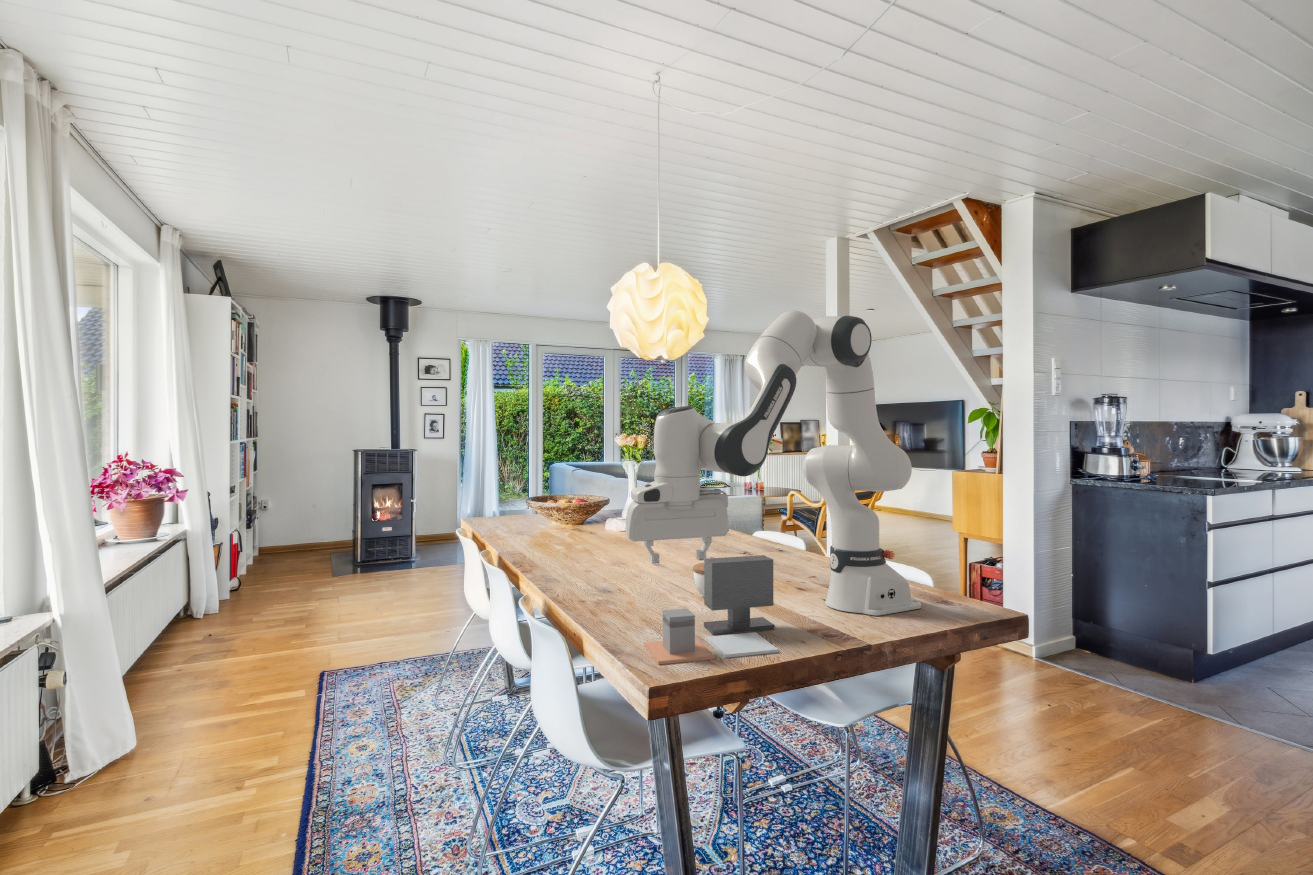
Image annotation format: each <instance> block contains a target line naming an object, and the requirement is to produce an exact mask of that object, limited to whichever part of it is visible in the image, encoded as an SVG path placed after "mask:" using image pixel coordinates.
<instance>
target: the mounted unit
mask: <svg viewBox="0 0 1313 875" xmlns="http://www.w3.org/2000/svg"><path fill="white" fill-rule="evenodd" d="M703 563H704V597H703V598H704V602H703V604H704V605H705V606H706V607H707V608H708V609H709V610H711V611H713V612H715V611H722V610H723V611H724V610H726V611H727V620H726V619H724V620H713V621H704V622H703V628H704V629H706V630H707V631H708V632H709V633H710V634H712V636H720V635H731V634H742V633H753V632H759V631H773V630H774V631H775V624H774V623H773V622H771V621H770V620H768V619H767V618H765V617H763V616H760V617H751V608H763V607H773V606H774V559H773V558H771V557H768V556H766V555H762V554H761V555H745V556H729V557H712V558H709V557H707V558H706V560H703Z"/></svg>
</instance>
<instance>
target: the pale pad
mask: <svg viewBox="0 0 1313 875" xmlns="http://www.w3.org/2000/svg"><path fill="white" fill-rule="evenodd" d="M705 641H706V642H707V643H709V645H710V646H712V647H713V649H715V650H716V651H717V652H718V653H719V654H720V655H721V656H722V657H723V658H724V659H728V658H738V657H745V656H757V655H766V654H774V653H775V654H778V653H779V648H777V647H776V646H775V645H773V644H771V643H770V642H769V641H768V640H766V639H765V638H764V637H762V636H761V635H760V634H758V633H757V631H753V632H742V633H731V634H720V635H712V636H710V635H709V636H705Z"/></svg>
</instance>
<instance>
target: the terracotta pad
mask: <svg viewBox="0 0 1313 875" xmlns="http://www.w3.org/2000/svg"><path fill="white" fill-rule="evenodd" d="M643 645H644V647H645V648H646V650H647V651H648V652H649V654H650V655H651V657H652V658H653V659H654V661H655V663H656V664H657V665H666V664H667V665H669V664H675V663H676V664H678V663H688V662H697V661H706V660H707V661H708V660H715V659H716V656H715V654H714V653H713V652H712V651H711V650H710V649H709V648H707V646H706V645H704V644H703V643H702V641H700V640H699V639H698V638H697V637H695V652H688V653H678V654H669V653H668V651H667V650H666V649H665V648H664V647H663V640H658V641H656V640H655V641H646V642H644V643H643Z"/></svg>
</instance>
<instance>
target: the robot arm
mask: <svg viewBox="0 0 1313 875" xmlns="http://www.w3.org/2000/svg"><path fill="white" fill-rule="evenodd" d="M871 345H872V332H871V329H870V327H869V325H868V324H867V322H865V319H862V318H861V317H858V316H853V315H843V316H838V315H837V316H836V315H835V316H832V315H830V316H827V315H826V316H818V317H815V318H811V317H810V316H809V315H808V314H806V313H805V312H803V311H800V310H793V309H792V310H787V311H785V312H783V313H781V314H780V315H779V316H778V317H776V319H774V320H773V321H772V322H771V323H770V324H769V325H768V326H767V327H766V328H765V330H764V331H763V332H762V333H761V334H760V335H759V337H758V339H756V341H755V342H754V344H753V345H752V346H751V348H750V350H749V351H748V353H747V355H746V358H745V360H744V370H745V374H746V377H747V378H748V381H750V383H751V384H752V385H753V386H754V387H755V388H756V389H757V390H758V391H759V393H758V394H757V396H756V398H755V399H754V402H753V403H752V406H751V407H750V409H749V411H748V413H747V414H746V416H745V417H743V418H742V419H740V420H738V421H735V422H731V423H730V422H729V423H728V422H724V423H720V422H715V421H713V420H710V419H709V418H706V417H705V416H704V415H702V414H701V413H699V412H698V411H697V410H696V407H694V406H691V405H682V406H681V405H680V406H676V407H669V408H666V409H663V410H662V411H660V412H659V413H658V414H657V415H656V417H655V418H656V419H655V423H654V430H653V456H654V458H655V469H654V474H653V481H650V482H649V483H645V484H644V485H643V484H642V485H641V486H636V487H634V488H633V489H632V490H631V491H630V498H631V500H633V501H631V502H630V503H629V505H628V507H627V512H626V517H625V536H626V538H627V539H628V540H629V541H631V542H632V543H635V542H643V546H644V547H645V549H646V550H647V553H649V561H650V565H651V564H652V565H655V564H660V553H658V552H655V551H654V549H653V548H652V547H654V541H664V540H680V539H681V540H682V539H696V538H697V539H698V538H701V541H702V545H701V547H700V549H696V550H695V551H696V560H697V561H704V560H706V559H707V552H708V550H709V547H711V544H712V538H714V537H725V536H727V535H728V533H729V532H730V524H729V516H728V509H727V508H728V506H729V496H728V494H727V493H726V492H725V491H724V490H722V489H721V488H712V489H710V488H701V476H700V474H701V473H700V470H704V471H709V472H710V471H711V472H716V473H726V474H730V475H733V476H738V477H748V476H752V475H754V474H756V472H758V471H759V470H760V469H761V467H762V466H763V464H764V463H765V461H766V459H767V456H768V452H769V449H770V445H771V442H772V438H773V436H774V433H775V431H776V430H777V427H779V426H778V425H779V423H780V421H781V420H782V418H783V416H784V414H785V412H786V410H787V408H788V406H789V404H790V403H791V400H792V397H793V395H794V393H795V390H796V387H797V374H798V372H799V371H800V370H801V368H802V367H803V366H808V367H821V368H822V367H824V369H825V394H826V395H825V396H826V405H827V406H826V407H827V408H826V409H827V419H828V421H829V424H830V425H831V426H832V427H833V428H834V429H835V430H837V431H838V432H841V433H843V434H844V435H846V436H847V437H848V438H849V439H850V440H851V441H852V444H853V445H847V444H845V445H842V444H839V445H837V444H829V445H828V444H827V445H822V446H818V447H814V448H810V449H809V451H807V453H806V455H805V457H804V458H803V461H802V472H803V475H804V477H805V479H806V481H807V483H808V484H809V485H810V486H811V487H813V488H814V489H816V491H817V492H818V493H819V494H820V496H822V498H823V501H824V503H825V504H826V506H827V509H828V512H829V514H830V515H829V516H830V524H831V525H830V527H831V545H830V547H829V549H830V550H829V566H830V578H829V584H828V590H827V595H826V598H825V602H824V604H825V605H826V606H827V607H829V608H831V609H834V610H837V611H841V612H847V613H848V612H849V613H854V614H855V613H856V614H857V613H858V614H865V615H869V616H875V617H876V616H883V615H884V616H885V615H890V614H894V613H901V612H908V611H913V610H918V609H922V603H921V602H920V601H919V600H918V599H916V598H914V597H912V595H911V594H912V592H911V588H910V584H909V582H908V580H907V579H906V578H905V577H904V576H903V575H901V574H900V573H899V572H897V571H896V570H895V569H893V567H891V566H890V565H889V564H888V563H887V561H886V560H887V559H888V560H894V558H895V552H894V551H893V550H889V549H885V550H884V549H882V548H881V547H880V519H879V517H878V515H877V513H876V512H875V511H874V510H873V509H872V508H871V507H868V506H867V505H866V504H865V505H864V504H863V503H861V501H860V500H859V499H858V497H857V495H856V492H857V491H859V492H876V493H877V492H880V493H881V492H882V493H883V492H890V491H897V490H901V489H903V488H904V487H906V485H908V483H909V481H910V480H911V477H912V473H913V467H912V462H911V459H910V457H909V455H908V454H907V453H906V451H905V450H903V449H902V448H900V447H899V446H898V445H897V444H895V443H894V442H893V441H892V440H891V439H890V438H889V436H887V434H886V433H885V431H884V429H883V428H882V426H881V424H880V421H879V420H880V419H879V416H878V410H877V404H876V403H877V402H876V392H875V381H874V371H873V367H872V362H871V358H870V354H869V353H870V351H871Z"/></svg>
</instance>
